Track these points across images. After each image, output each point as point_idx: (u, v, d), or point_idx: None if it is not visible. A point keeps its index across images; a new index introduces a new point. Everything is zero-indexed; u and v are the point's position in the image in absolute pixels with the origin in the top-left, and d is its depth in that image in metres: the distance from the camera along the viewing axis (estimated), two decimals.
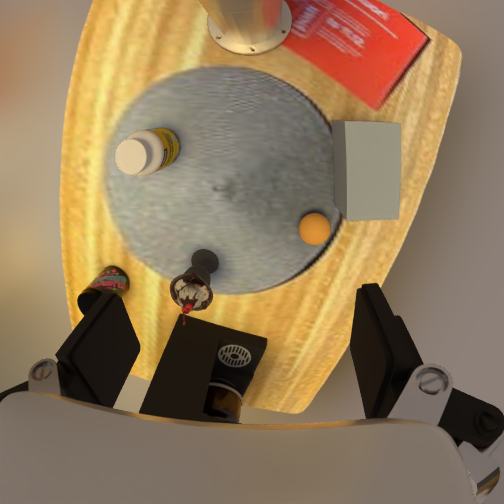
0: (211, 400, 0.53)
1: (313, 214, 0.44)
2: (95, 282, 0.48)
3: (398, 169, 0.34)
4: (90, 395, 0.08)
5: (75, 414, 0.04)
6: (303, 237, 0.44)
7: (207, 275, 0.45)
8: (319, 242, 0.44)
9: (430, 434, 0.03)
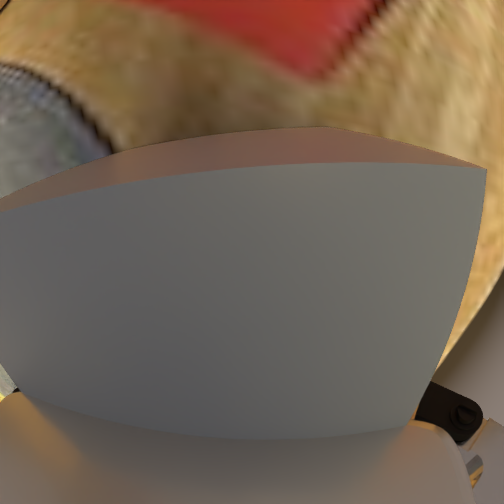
0: None
1: None
2: None
3: None
4: None
5: (75, 414, 0.04)
6: None
7: None
8: None
9: (430, 434, 0.03)
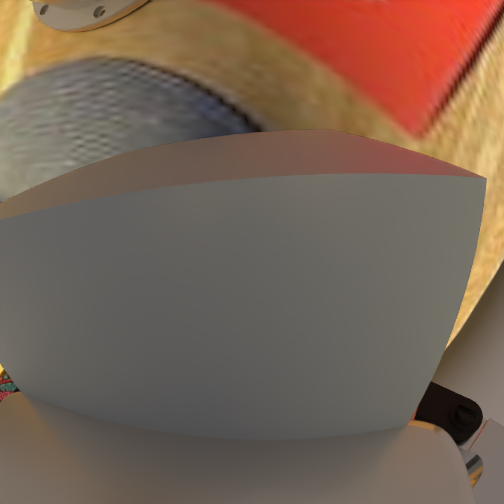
0: None
1: None
2: None
3: None
4: None
5: (75, 414, 0.04)
6: None
7: None
8: None
9: (430, 434, 0.03)
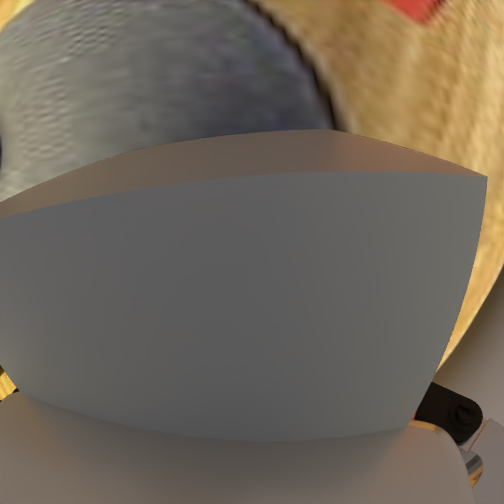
0: None
1: None
2: None
3: None
4: None
5: (75, 414, 0.04)
6: None
7: None
8: None
9: (430, 434, 0.03)
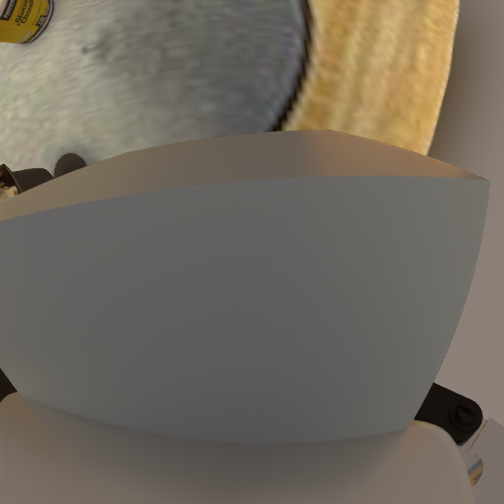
0: None
1: None
2: None
3: None
4: None
5: None
6: None
7: (41, 179, 0.19)
8: None
9: (430, 434, 0.03)
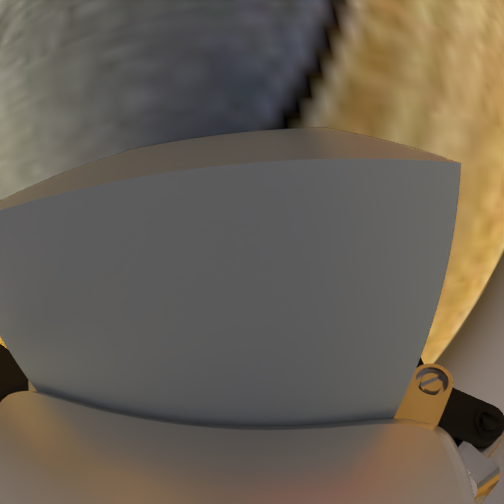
0: None
1: None
2: None
3: None
4: None
5: (75, 414, 0.04)
6: None
7: None
8: None
9: (430, 434, 0.03)
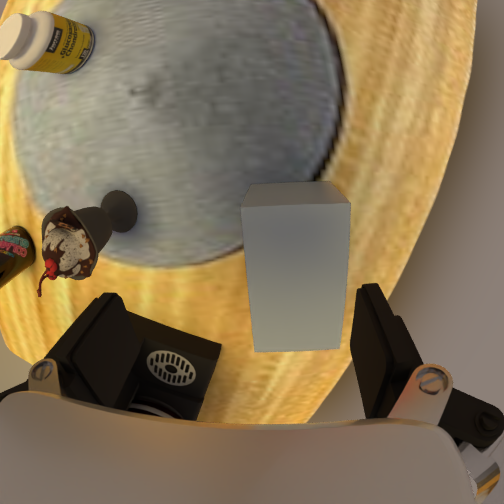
0: None
1: None
2: None
3: (342, 282, 0.22)
4: (89, 394, 0.08)
5: (75, 414, 0.04)
6: None
7: (101, 220, 0.24)
8: None
9: (430, 434, 0.03)
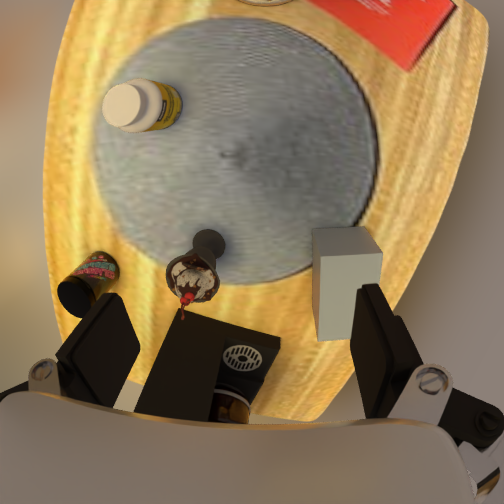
0: (214, 410, 0.44)
1: None
2: (78, 269, 0.39)
3: None
4: (90, 394, 0.08)
5: (75, 414, 0.04)
6: None
7: (212, 258, 0.37)
8: None
9: (430, 434, 0.03)
